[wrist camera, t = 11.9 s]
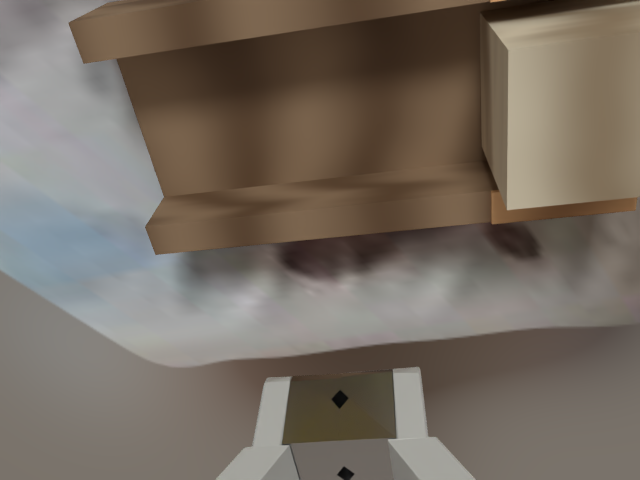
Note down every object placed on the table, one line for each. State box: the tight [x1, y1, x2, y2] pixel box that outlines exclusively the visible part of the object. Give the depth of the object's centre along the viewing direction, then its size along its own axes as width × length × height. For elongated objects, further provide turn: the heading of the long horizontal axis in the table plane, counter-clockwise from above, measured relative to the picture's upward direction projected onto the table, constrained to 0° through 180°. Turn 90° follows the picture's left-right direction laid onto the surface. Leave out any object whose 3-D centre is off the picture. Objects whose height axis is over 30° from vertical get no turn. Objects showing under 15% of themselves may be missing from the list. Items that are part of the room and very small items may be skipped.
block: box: [480, 0, 640, 210], centre depth 22 cm, size 6×6×6 cm
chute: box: [69, 0, 637, 255], centre depth 25 cm, size 22×11×4 cm, turn 99°
